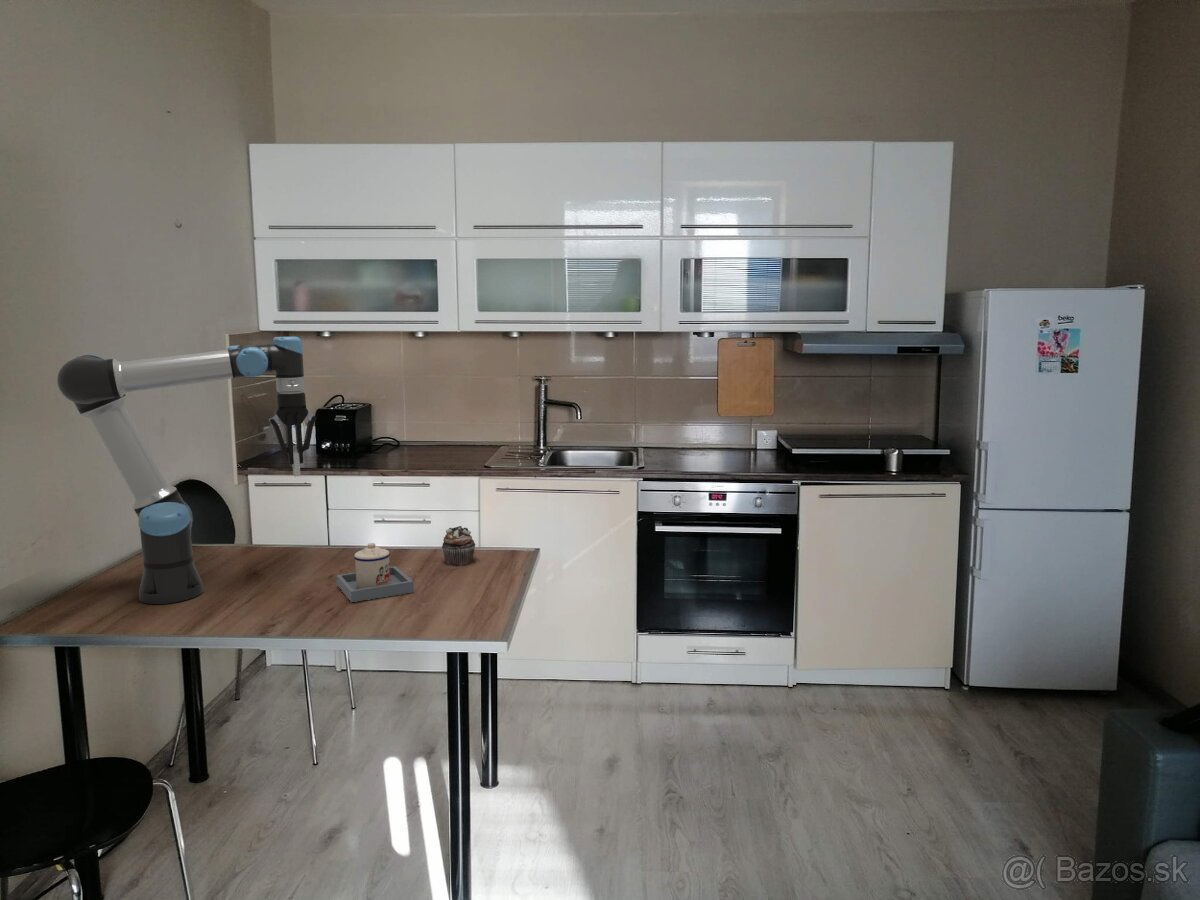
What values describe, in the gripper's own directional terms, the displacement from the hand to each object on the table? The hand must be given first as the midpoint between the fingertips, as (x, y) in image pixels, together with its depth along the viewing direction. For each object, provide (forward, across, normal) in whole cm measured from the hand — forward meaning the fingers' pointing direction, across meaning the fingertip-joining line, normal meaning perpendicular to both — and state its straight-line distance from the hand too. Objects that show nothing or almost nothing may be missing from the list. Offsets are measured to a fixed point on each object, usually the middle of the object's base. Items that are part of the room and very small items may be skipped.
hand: (296, 475), depth 255 cm
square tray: (+26, +12, -33) cm, 44 cm away
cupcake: (+27, +40, -20) cm, 52 cm away
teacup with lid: (+26, +12, -33) cm, 43 cm away
